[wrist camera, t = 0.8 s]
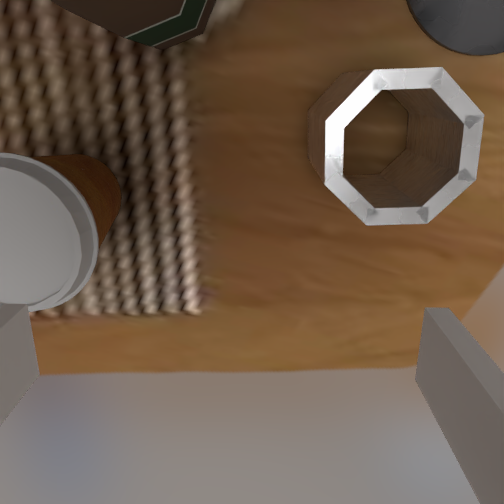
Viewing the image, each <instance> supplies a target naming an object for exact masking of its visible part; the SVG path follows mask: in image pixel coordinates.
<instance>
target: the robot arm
mask: <svg viewBox="0 0 504 504" xmlns="http://www.w3.org/2000/svg"><path fill="white" fill-rule="evenodd" d="M39 375H40V374H39V368H38V363H37V357H36V351H35V346H34V340H33V334H32V329H31V323H30V317H29V312H28V306H27V304H3V305H2V306H1V307H0V426H1V424H2V423H3V422H4V420H5V419H6V418H7V417H8V415H9V414H10V413H11V411H12V410H13V409H14V408H15V406H16V405H17V404H18V402H19V401H20V400H21V398H22V397H23V396H24V395H25V393H26V392H27V391H28V389H29V388H30V387H31V385H32V384H33V383H34V381H35V380H36V379H37V378H38V376H39ZM415 380H416V382H417V384H418V386H419V388H420V390H421V391H422V394H423V395H424V397H425V399H426V401H427V403H428V405H429V407H430V409H431V411H432V413H433V415H434V416H435V418H436V420H437V422H438V424H439V426H440V428H441V430H442V432H443V434H444V436H445V438H446V439H447V441H448V443H449V445H450V447H451V449H452V451H453V453H454V455H455V457H456V458H457V460H458V462H459V464H460V466H461V468H462V470H463V472H464V474H465V476H466V478H467V480H468V481H469V483H470V485H471V487H472V489H473V491H474V493H475V495H476V496H477V499H478V500H479V502H480V504H504V373H503V372H502V371H501V369H500V368H499V367H498V366H497V365H496V363H495V362H494V361H493V360H492V359H491V358H490V356H489V355H488V354H487V353H486V352H485V350H484V349H483V348H482V347H481V346H480V345H479V343H478V342H477V341H476V340H475V339H474V338H473V336H472V335H471V334H470V333H469V331H468V330H467V329H466V328H465V327H464V326H463V324H462V323H461V322H460V321H459V320H458V318H457V317H456V316H455V315H454V314H453V313H452V311H451V310H450V309H449V308H425V311H424V319H423V326H422V333H421V340H420V348H419V355H418V362H417V369H416V377H415Z"/></svg>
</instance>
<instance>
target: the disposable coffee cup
mask: <svg viewBox="0 0 504 504" xmlns="http://www.w3.org/2000/svg"><path fill="white" fill-rule="evenodd" d="M120 206H121V190H120V187H119V183H118V181H117V179H116V177H115V176H114V174H113V173H112V172H111V170H110V169H109V168H108V167H107V166H106V165H105V164H103V163H102V162H100V161H99V160H97V159H95V158H92V157H90V156H86V155H82V154H72V155H57V156H41V157H27V156H22V155H18V154H12V153H0V307H1V306H2V305H3V304H27V306H28V312H32V311H37V310H42V309H49V308H52V307H55V306H58V305H60V304H62V303H64V302H66V301H68V300H70V299H71V298H72V297H74V296H75V295H76V294H77V293H78V292H79V291H81V289H82V288H83V287H84V286H85V284H86V283H87V282H88V280H89V279H90V276H91V274H92V272H93V270H94V267H95V265H96V262H97V256H98V249H99V248H100V245H101V244H102V242H103V240H104V238H105V236H106V235H107V232H108V231H109V229H110V227H111V225H112V223H113V222H114V220H115V218H116V216H117V215H118V212H119V209H120Z"/></svg>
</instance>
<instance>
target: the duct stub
mask: <svg viewBox="0 0 504 504" xmlns="http://www.w3.org/2000/svg"><path fill="white" fill-rule="evenodd" d="M406 1H407V4H408V6H409V9H410V11H411V13H412V15H413V17H414V19H415V21H416V22H417V24H418V25H419V26H420V28H421V29H422V30H423V31H424V32H425V33H426V34H427V35H428V36H429V37H430V38H431V39H432V40H434V41H435V42H436V43H438V44H439V45H441V46H443V47H445V48H447V49H449V50H451V51H454V52H457V53H461V54H467V55H490V54H497V53H501V52H504V0H406Z"/></svg>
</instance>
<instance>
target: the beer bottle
mask: <svg viewBox="0 0 504 504" xmlns="http://www.w3.org/2000/svg"><path fill="white" fill-rule="evenodd" d="M51 1H52V2H54V3H56V4H57V5H59V6H61V7H62V8H64V9H66V10H68V11H70V12H72V13H74V14H76V15H78V16H80V17H82V18H84V19H86V20H89V21H91V22H93V23H95V24H97V25H99V26H101V27H103V28H105V29H107V30H109V31H111V32H113V33H115V34H117V35H119V36H122V37H124V38H127V39H130V40H133V41H136V42H139V43H142V44H145V45H148V46H152V47H155V48H158V49H167V48H169V47H171V46H174V45H176V44H179V43H181V42H183V41H186V40H188V39H191V38H193V37H196V36H198V35H200V34H203V32H204V29H205V27H206V24H207V22H208V19H209V16H210V14H211V11H212V9H213V6H214V3H215V1H216V0H51Z"/></svg>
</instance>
